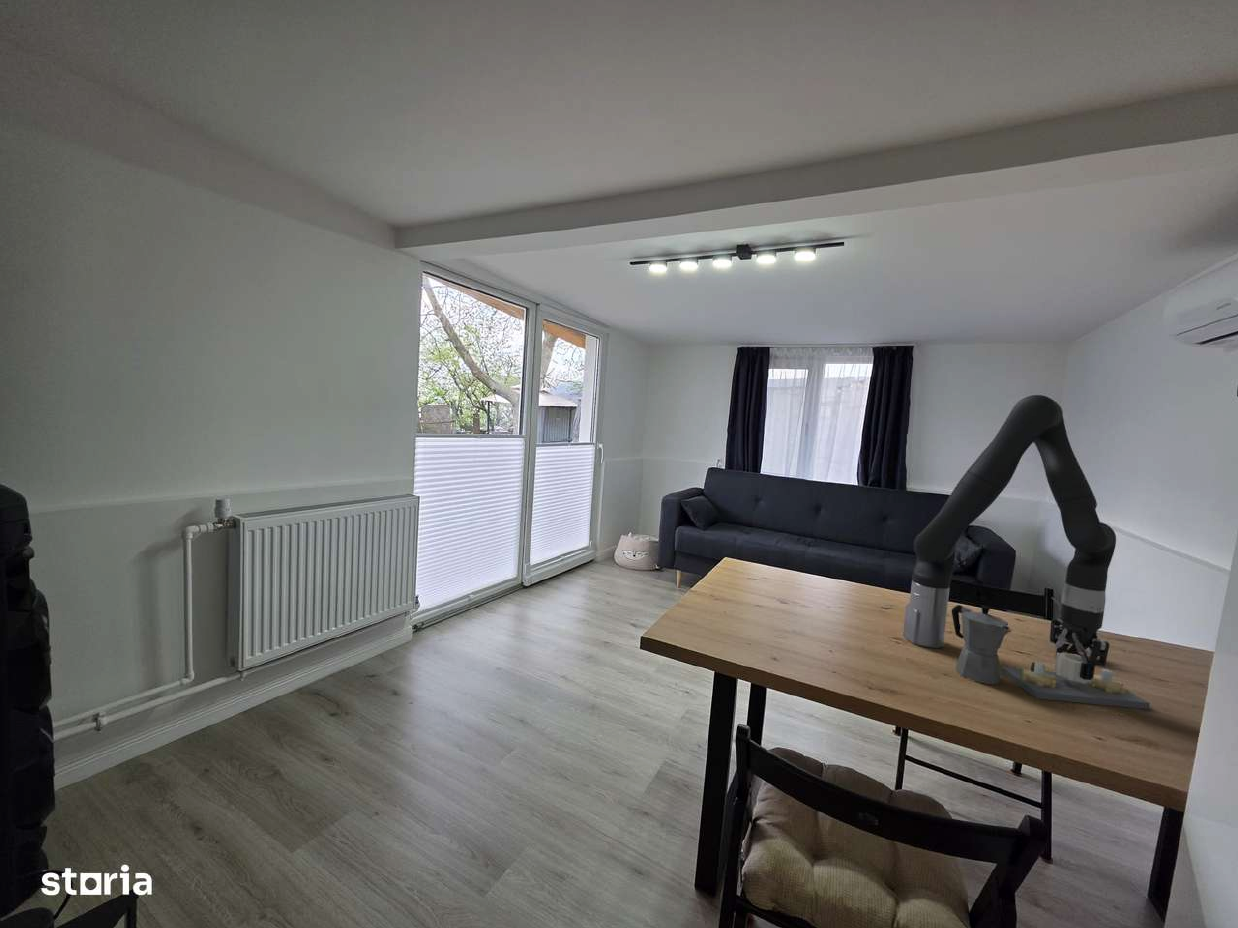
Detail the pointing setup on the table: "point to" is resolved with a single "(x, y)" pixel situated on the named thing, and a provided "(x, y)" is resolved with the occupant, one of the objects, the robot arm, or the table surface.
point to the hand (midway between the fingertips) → (1073, 670)
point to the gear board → (1074, 687)
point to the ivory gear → (1069, 666)
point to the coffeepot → (979, 644)
